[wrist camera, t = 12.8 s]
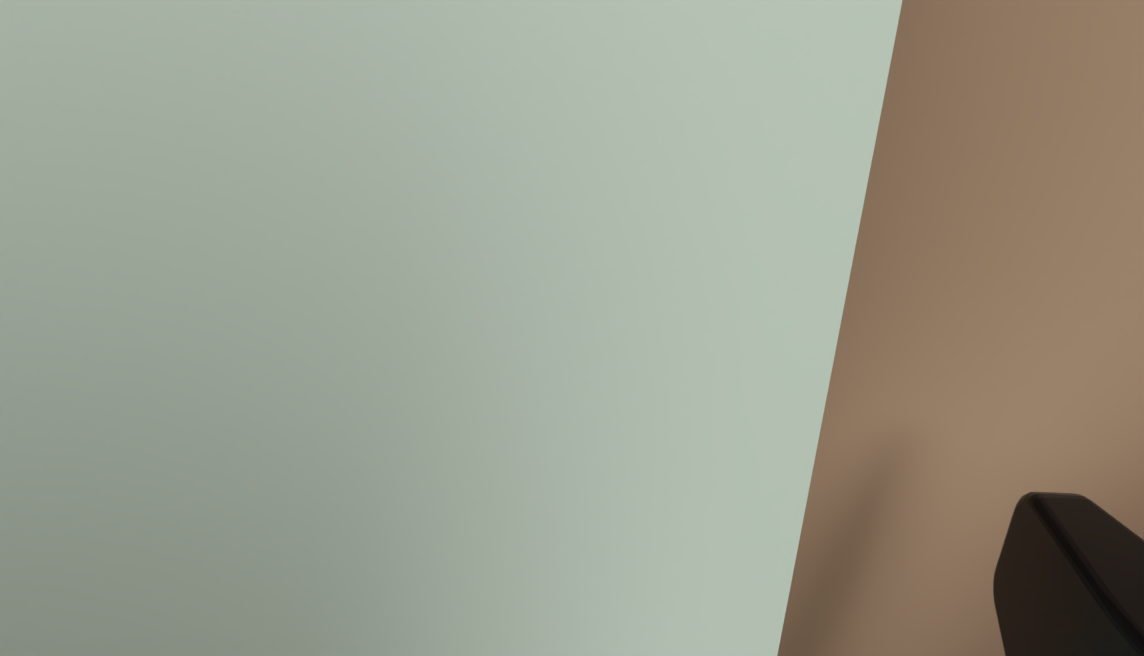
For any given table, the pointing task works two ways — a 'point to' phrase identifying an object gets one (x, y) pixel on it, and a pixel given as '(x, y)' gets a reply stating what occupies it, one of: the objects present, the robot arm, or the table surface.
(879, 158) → the walnut board
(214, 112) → the sanding block
